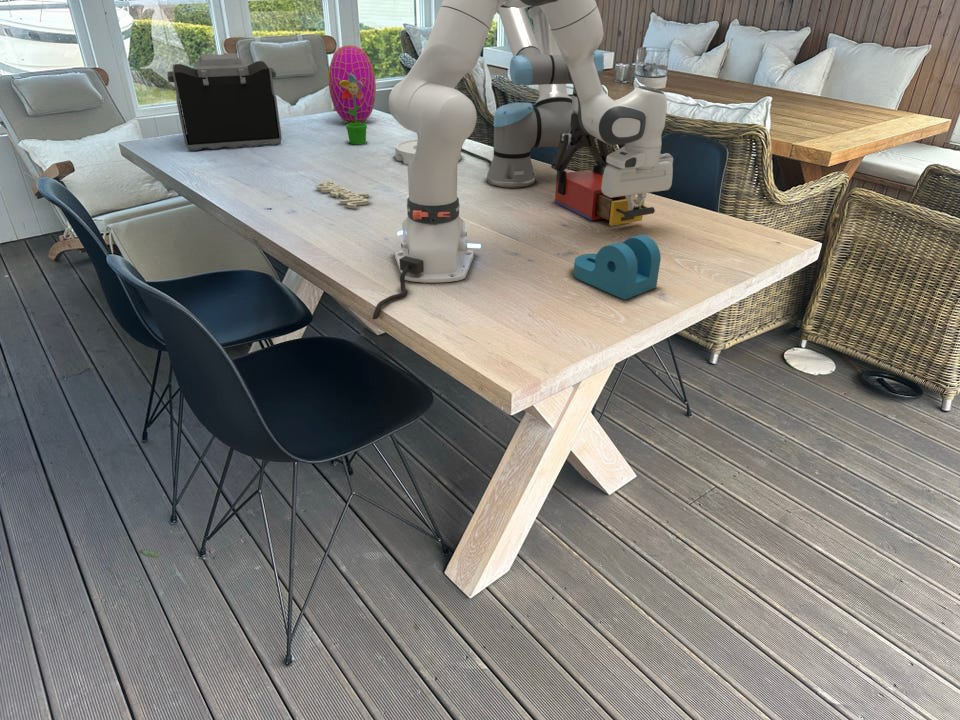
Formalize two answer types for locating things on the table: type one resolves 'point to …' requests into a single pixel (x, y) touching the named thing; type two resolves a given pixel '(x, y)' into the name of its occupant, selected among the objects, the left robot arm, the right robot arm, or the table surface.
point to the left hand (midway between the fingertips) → (633, 209)
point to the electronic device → (226, 103)
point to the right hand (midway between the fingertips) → (578, 191)
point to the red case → (581, 193)
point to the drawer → (619, 210)
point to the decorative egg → (361, 68)
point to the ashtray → (407, 150)
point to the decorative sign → (344, 194)
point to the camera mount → (621, 267)
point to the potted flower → (354, 129)
